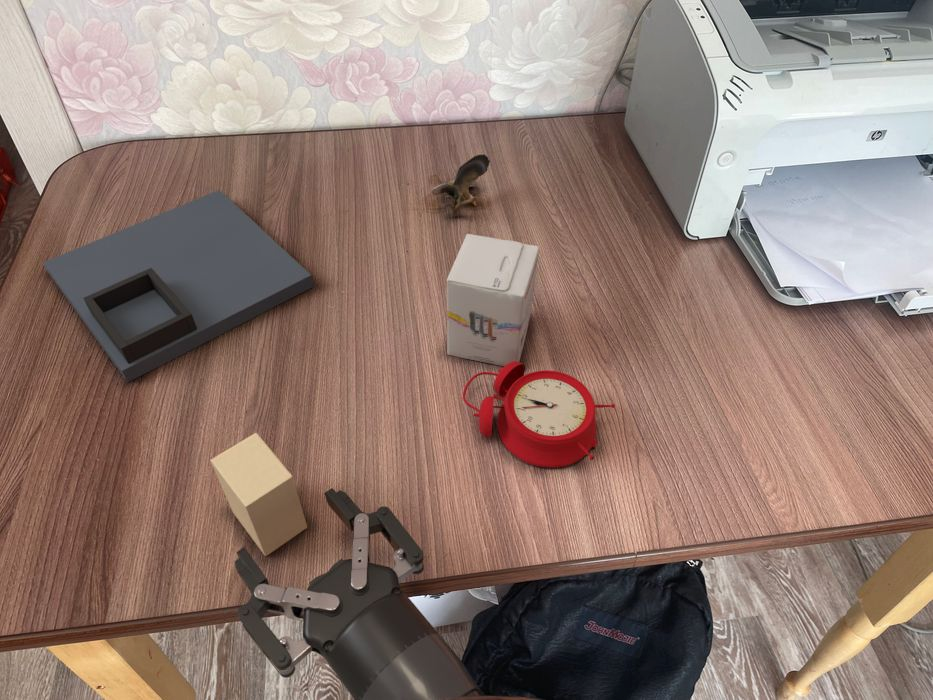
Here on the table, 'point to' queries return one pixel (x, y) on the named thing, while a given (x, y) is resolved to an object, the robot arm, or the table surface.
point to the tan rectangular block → (260, 493)
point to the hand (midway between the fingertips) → (286, 523)
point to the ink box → (490, 299)
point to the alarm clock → (540, 415)
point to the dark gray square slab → (176, 281)
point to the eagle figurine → (463, 183)
